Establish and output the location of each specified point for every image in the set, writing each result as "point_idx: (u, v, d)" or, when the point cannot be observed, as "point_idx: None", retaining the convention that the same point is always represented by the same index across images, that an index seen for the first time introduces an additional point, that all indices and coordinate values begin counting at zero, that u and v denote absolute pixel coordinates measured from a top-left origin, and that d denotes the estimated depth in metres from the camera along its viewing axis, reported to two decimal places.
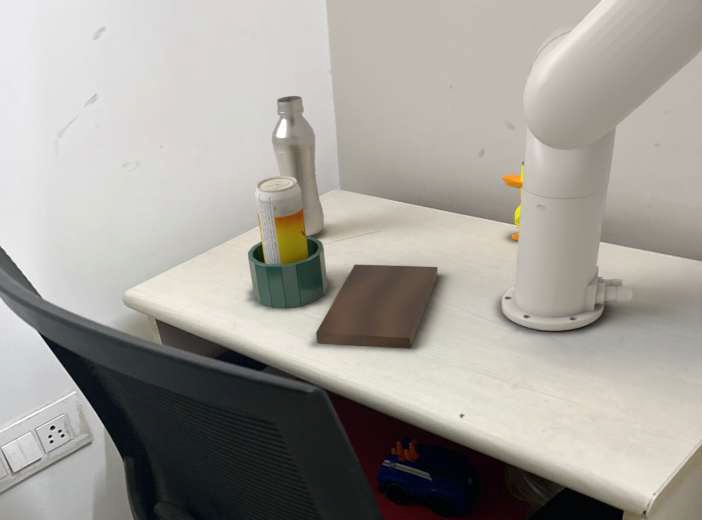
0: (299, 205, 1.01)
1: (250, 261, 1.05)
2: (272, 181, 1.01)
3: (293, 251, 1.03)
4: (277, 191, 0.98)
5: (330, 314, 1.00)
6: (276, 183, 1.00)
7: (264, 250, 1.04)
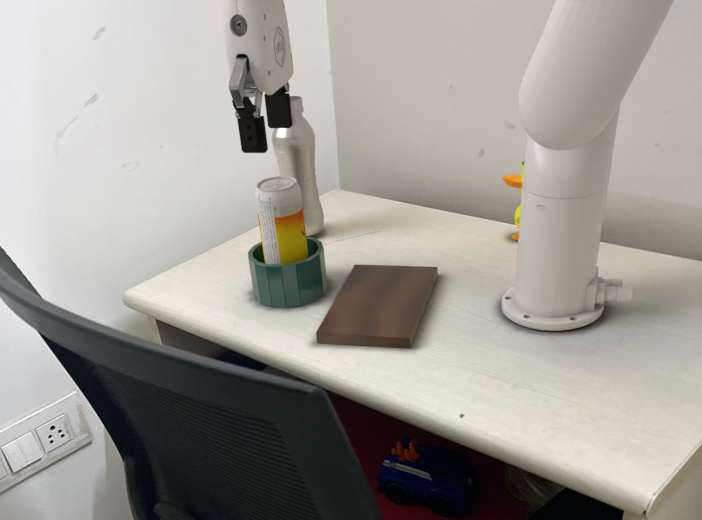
0: (299, 205, 1.01)
1: (250, 261, 1.05)
2: (272, 181, 1.01)
3: (293, 251, 1.03)
4: (277, 191, 0.98)
5: (330, 314, 1.00)
6: (276, 183, 1.00)
7: (264, 250, 1.04)
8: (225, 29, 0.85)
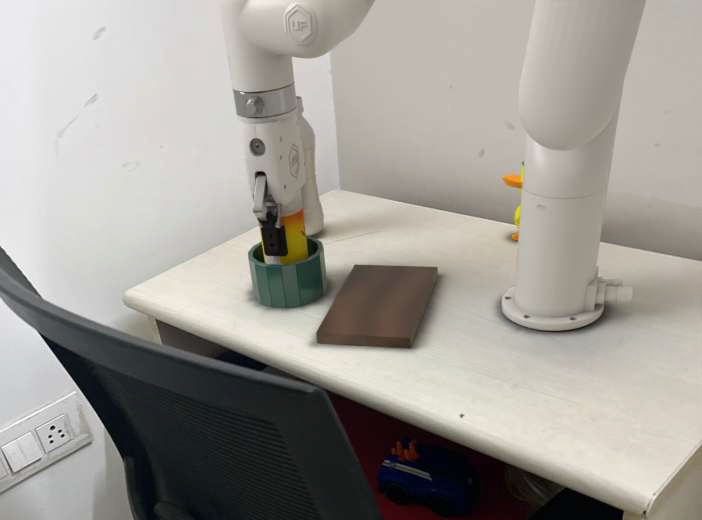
0: (299, 205, 1.01)
1: (250, 261, 1.05)
2: None
3: (293, 251, 1.03)
4: None
5: (330, 314, 1.00)
6: None
7: None
8: (245, 150, 0.94)
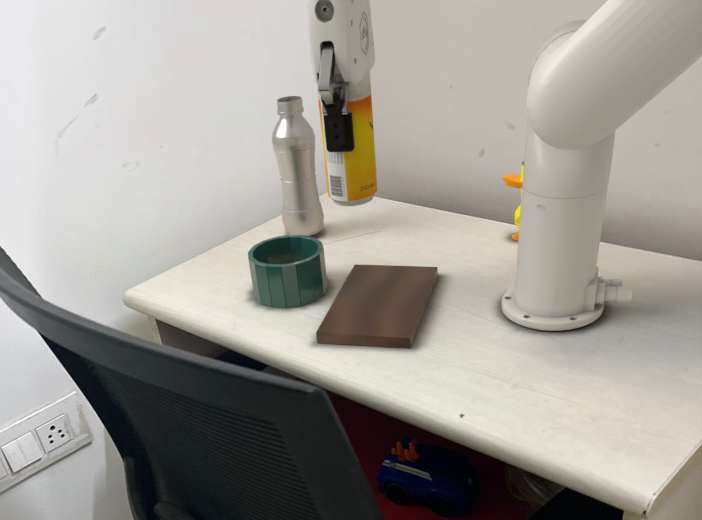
0: (368, 89, 0.86)
1: (250, 261, 1.05)
2: None
3: (360, 146, 0.89)
4: None
5: (330, 314, 1.00)
6: None
7: (325, 147, 0.90)
8: (309, 15, 0.79)
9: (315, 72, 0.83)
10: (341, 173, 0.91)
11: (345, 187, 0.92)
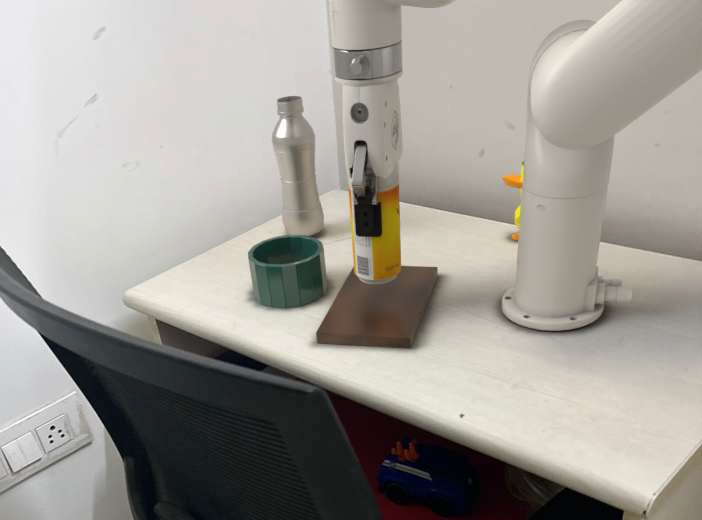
0: (397, 180, 0.91)
1: (250, 261, 1.05)
2: None
3: (387, 231, 0.94)
4: None
5: (330, 314, 1.00)
6: None
7: (354, 230, 0.95)
8: (344, 116, 0.84)
9: (348, 167, 0.87)
10: (369, 255, 0.95)
11: (372, 267, 0.96)
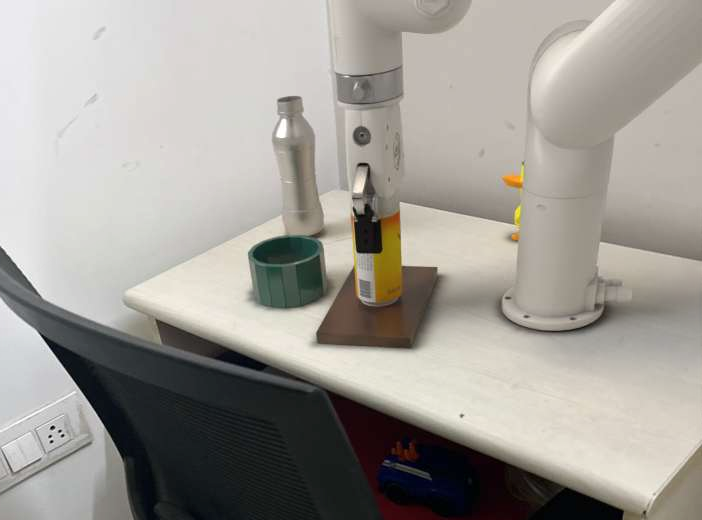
0: (398, 206, 0.93)
1: (250, 261, 1.05)
2: None
3: (389, 256, 0.96)
4: None
5: (330, 314, 1.00)
6: None
7: (356, 254, 0.97)
8: (347, 139, 0.86)
9: (351, 188, 0.89)
10: (370, 278, 0.97)
11: (374, 290, 0.98)
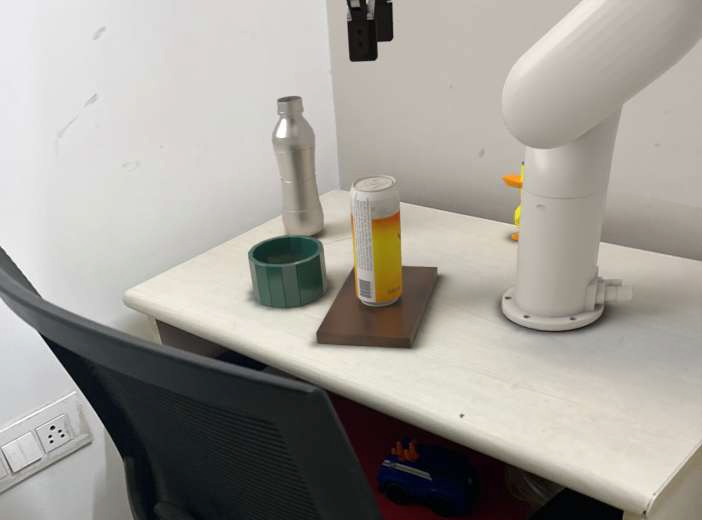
0: (398, 206, 0.93)
1: (250, 261, 1.05)
2: (368, 180, 0.94)
3: (389, 256, 0.96)
4: (376, 190, 0.91)
5: (330, 314, 1.00)
6: (373, 182, 0.93)
7: (356, 254, 0.97)
8: None
9: None
10: (370, 278, 0.97)
11: (374, 290, 0.98)
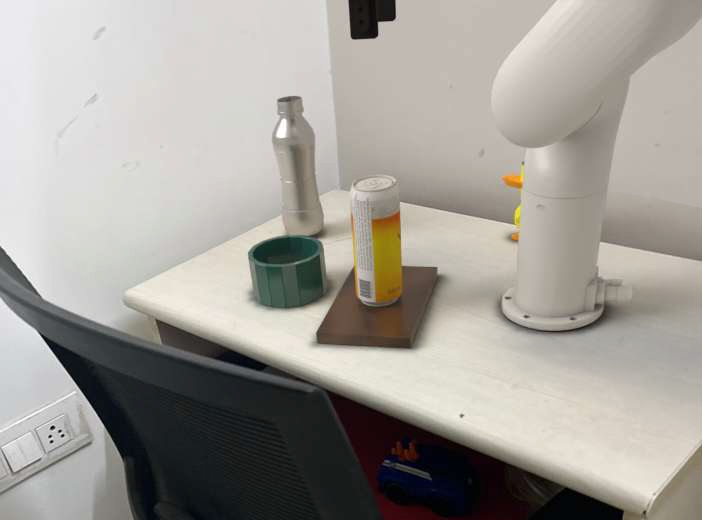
0: (398, 206, 0.93)
1: (250, 261, 1.05)
2: (368, 180, 0.94)
3: (389, 256, 0.96)
4: (376, 190, 0.91)
5: (330, 314, 1.00)
6: (373, 182, 0.93)
7: (356, 254, 0.97)
8: None
9: None
10: (370, 278, 0.97)
11: (374, 290, 0.98)
